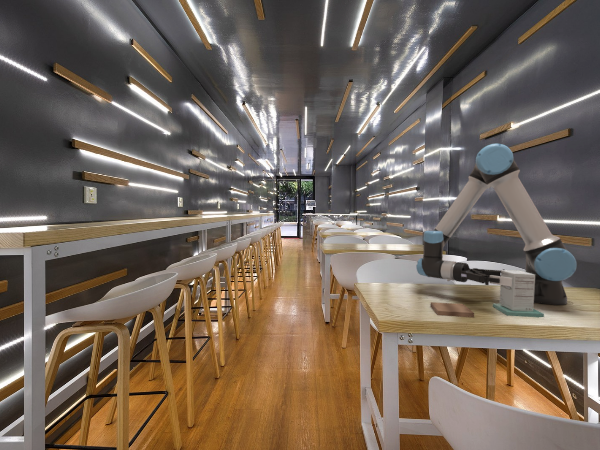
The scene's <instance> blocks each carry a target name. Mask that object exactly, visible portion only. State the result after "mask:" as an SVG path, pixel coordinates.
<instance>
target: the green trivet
mask: <svg viewBox="0 0 600 450" xmlns="http://www.w3.org/2000/svg"><path fill="white" fill-rule="evenodd" d="M492 307H493V308H495V309H496V310H498V311H499V312H500V313H502V314H504V315H505V316H509V317H510V316H511V317H522V318H523V317H526V318H539V317H544V318H545V314H544V312H541V311H539V310H537V309H535V308H533V311H512V310H510V309H508V308H506V307H504V306H502V305H500V303H494V302H493V303H492Z"/></svg>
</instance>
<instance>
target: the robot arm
mask: <svg viewBox="0 0 600 450" xmlns="http://www.w3.org/2000/svg"><path fill="white" fill-rule="evenodd" d="M520 172H521V170H520V168H519V167H518V165H517V163H516V161H515V159H514V153H513V151H512V149H510V148H509V146H507V145H505V144H503V143H502V144H501V143H491V144H488V145H486V146H484V147H483V148H481V150H479V152H477V154H476V157H475V163H474V167H473V169H472V171H471V173H469V175H468V181H467V182H466V184H465V185H464V187H463V188H462V190H461V191H460V192H459V194H458V195H457V196H456V198H455V199H454V201H453V203H451V205H450V206H449V208H448V209H447V211H446V213H445V214H444V215H443V216H442V218H441V220H440V221H439V222H438V223H437V225H436V226H435V228H434V229H433V230H425V231H424V232H423V239H422V240H423V253H422V255H423V256H422V257H420V258H418V260H417V262H416V263H417V264H416V272H417V274H419V275H420V276H424V277H427V278H434V279H440V280H447V282H450V281H455V282H460V283H467V281H472V282H477V283H480V284H484V285H485V286H489V285H490V284H491V285H492V284H493V285H499V286H501V285H505V286H512V278H508V277H501V270H506V269H503V268H502V269H501V270H498V269H484V268H477V267H472V268H470V266H469V264H468V263H466V262H460V261H459V262H457V261H454V260H453V261H452V260H443V256H444V255H443V252H444V248H445V245H446V244H447V243H448V241H449V240H450V238H451V237H452V236H453V234H454V233H455V231H456V230H457V229H458V228H459V226H460V224H461V223H462V222H464V220H465V218H466V217H467V216H468V214H469V213H470V212H471V210H472V209H473V207H474V206H475V204H477V202H478V200H479V199H480V198H481V197H482V195H484V192H486V190H487V189H488V190H489V189H490V188H493V189H494V192H495V193H496V195H497V196H498V198H499V200H500V202H501V204H502V205H503V206H504V208H505V211H506V212H507V214H508V215H509V217H510V219H511V221H512V223H513V224H514V226H515V228H516V230H517V232H518V234H519V235H520V237H521V239H522V240H523V243H524V244H525V245H524V247H523V252H524V254H525V272H527V273H531V274H535V288H534V303H537V304H544V305H554V306H555V305H556V306H561V305H566V304H568V297H567V293H566V290H565V288H564V285H563V281H564V280H567V279H569V278H570V277H572V276H573V275H574V273H575V272H576V270H577V266H578V265H577V264H578V263H577V260H576V258H575V256H574V255H573V253H572V252H570V251H569V250H568V249H567V248H566V246H565V245H564V242H563V241H562V239H561V238H560V236H556V235H553V234H552V232H551V231H550V229H549V227H548V225H547V224H546V222H545V220H544V218H543V217H542V216H541V214H540V212H539V210H538V208H537V207H536V205H535V203H534V202H533V200H532V198H531V196H530V194H529V193H528V191H527V190H526V188H525V186H524V185H523V183H522V181H521V180H520V178H519V174H520Z"/></svg>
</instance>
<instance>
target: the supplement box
mask: <svg viewBox="0 0 600 450" xmlns="http://www.w3.org/2000/svg"><path fill="white" fill-rule="evenodd" d="M500 275H501V277H508V278H512V286H505V285H499V286H500V287H499V288H500V289H499V304H500V305H502V306H504V307H506V308H508V309H510V310H512V311H533V309H534V303H535V302H534V288H535V274H531V273H527V272H526V271H524V270H518V269H516V270H513V269H512V270H511V269H505V270H503V269H501V273H500Z"/></svg>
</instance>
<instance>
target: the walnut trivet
mask: <svg viewBox="0 0 600 450" xmlns="http://www.w3.org/2000/svg"><path fill="white" fill-rule="evenodd" d="M429 305H430V307H431V310H432V311H434V313H436V315H438V316H445V317H461V318H475V312H474V311H473V310H471V309H470V308H469V307H467V306H466V305H465V304H463V303H452V302H451V303H450V302H435V301H434V302H432V301H431V302H430V304H429Z"/></svg>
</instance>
